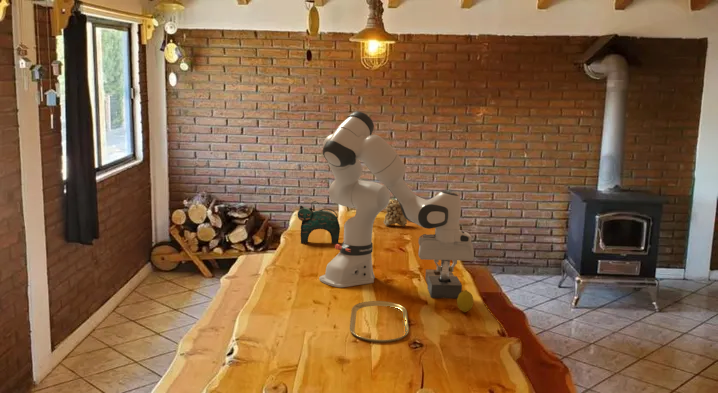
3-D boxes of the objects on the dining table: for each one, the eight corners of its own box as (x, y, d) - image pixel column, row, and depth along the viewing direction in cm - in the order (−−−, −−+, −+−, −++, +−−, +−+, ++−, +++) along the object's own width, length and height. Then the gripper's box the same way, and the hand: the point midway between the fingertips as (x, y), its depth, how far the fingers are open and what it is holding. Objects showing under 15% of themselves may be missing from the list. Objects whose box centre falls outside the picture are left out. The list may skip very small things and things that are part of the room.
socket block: (454, 287, 263) (454, 277, 262) (428, 287, 263) (428, 276, 262) (450, 279, 273) (450, 269, 272) (425, 279, 272) (425, 269, 272)
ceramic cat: (297, 243, 320) (297, 201, 316) (297, 240, 326) (298, 199, 322) (339, 244, 320) (340, 202, 317) (339, 241, 327) (340, 200, 323)
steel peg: (444, 290, 253) (445, 261, 251) (437, 288, 256) (439, 259, 253) (450, 288, 255) (451, 260, 253) (443, 286, 258) (445, 258, 256)
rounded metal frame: (348, 343, 208) (348, 338, 208) (352, 304, 242) (352, 299, 242) (409, 346, 207) (410, 341, 207) (405, 306, 242) (405, 302, 242)
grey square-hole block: (461, 298, 251) (461, 285, 250) (431, 297, 250) (431, 284, 249) (456, 288, 261) (456, 276, 260) (427, 288, 261) (428, 275, 260)
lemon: (470, 309, 239) (472, 287, 238) (473, 315, 234) (475, 293, 232) (455, 309, 239) (456, 287, 238) (457, 315, 234) (459, 292, 232)
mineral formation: (382, 224, 365) (383, 196, 363) (407, 224, 366) (408, 197, 364) (384, 227, 358) (385, 199, 355) (409, 228, 358) (410, 200, 356)
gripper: (419, 236, 248) (418, 272, 251) (475, 237, 249) (473, 274, 251) (418, 232, 254) (416, 267, 257) (472, 233, 255) (470, 269, 257)
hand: (444, 271), depth 254 cm, fingers closed on steel peg, 3 cm apart
